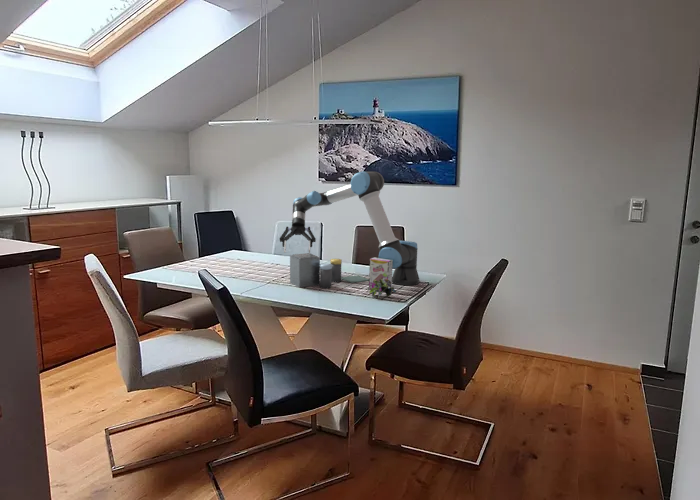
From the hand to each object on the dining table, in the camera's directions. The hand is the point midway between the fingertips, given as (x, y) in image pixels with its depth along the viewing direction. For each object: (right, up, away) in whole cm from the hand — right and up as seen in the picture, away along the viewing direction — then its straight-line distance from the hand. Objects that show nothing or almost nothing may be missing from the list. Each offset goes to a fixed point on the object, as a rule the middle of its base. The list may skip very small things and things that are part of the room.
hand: (297, 251), depth 287 cm
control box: (+5, -17, -8) cm, 20 cm away
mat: (+32, -16, +3) cm, 36 cm away
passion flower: (+45, -23, -32) cm, 60 cm away
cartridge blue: (+17, -19, -14) cm, 28 cm away
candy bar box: (+45, -20, -19) cm, 53 cm away
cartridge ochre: (+22, -16, -1) cm, 27 cm away
